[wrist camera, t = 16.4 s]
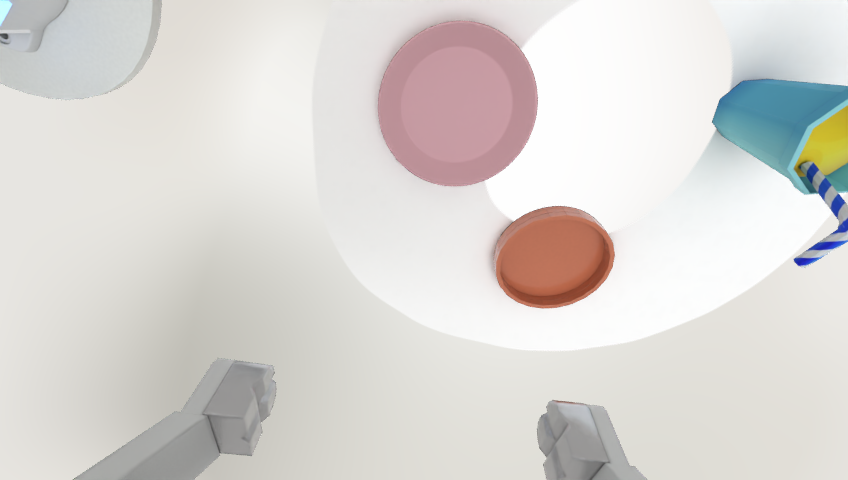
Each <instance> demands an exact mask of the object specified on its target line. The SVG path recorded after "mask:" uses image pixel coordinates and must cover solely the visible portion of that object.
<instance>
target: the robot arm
mask: <svg viewBox="0 0 848 480" xmlns="http://www.w3.org/2000/svg"><path fill="white" fill-rule="evenodd" d="M67 2H68V0H0V45H1V46H4V47H7V48H10V49H13V50H16V51H19V52H35V51H37V50H38V49H39V47H40V44H41V41H42V37H43V32H44V29H45V27H46V26H47V25H48V24H49V23H50V22H51V21H53V20H54V19H55V18H56V17H58V16H59V15H60V13H61V12H62V11H63V9H64V8H65V6H66V4H67ZM7 34H8V35H7ZM274 373H275V372H274V367H273V366H272V365H265V364H258V363H250V362H243V361H237V360H229V359H222V358H218V359H217V360H216V361H215V362H213V364H212V365H211V366H210V368H209V369H208V371H207V372H206V374H205V375H204V377H203V378H202V380H201V382H200V383H199V385H198V386H197V388H196V389H195V391H194V392H193V394H192V395H191V397H190V398H189V400H188V402H187V403H186V404H185V406H184V408H183V409H182V411H181V412H174V413H172V414H171V415H169V416H168V417H166V418H165V419H163V420H161V421H160V422H159V423H157V424H155V425H154V426H153V427H151V428H149V429H148V430H146V431H145V432H143V433H142V434H140V435H139V436H138V437H136V438H135V439H133V440H131V441H130V442H128V443H127V444H126V445H124V446H122V447H121V448H120V449H118V450H116V451H115V452H113V453H112V454H110V455H109V456H107V457H106V458H104V459H103V460H101V461H100V462H98V463H97V464H95V465H94V466H92V467H91V468H89V469H88V470H86V471H85V472H83V473H82V474H80V475H79V476H77V477H76V478H74V479H73V480H194V479H195V478H196V477H197V476H198V475H199V474H200V473H202V472H203V471H204V470H205V469H206V468H207V467H208V466H209V465H210V464H211V463H212V462H213V461H214V460H215V459H216V458H218V457H219V456H220V453H225V454H236V455H247V456H252V454H253V452H254V450H255V448H256V445H257V443H258V441H259V438H260V436H261V434H262V427H261V422H262V421H263V420H265V419H266V418H267V417H268V416H269V415H270V412H271V410H272V407H273V404H274V401H275V397H276V382H275V381H274V380H273V379H272V377H273V375H274ZM546 408H547V411H548V412H547V413H546V414H543V415H542V416H541V417H540V419H539V421H538V428H537V436H538V443H539V448H540V450H541V451H542V452H543V453H544V454H545V456H546V460H545V462H544V464H543V466H544V470H545V475H546V479H547V480H647V479H646V478H645V477H644V476H643V475H642V474H641V473H640V472H639V470H637V468H636V467H634V466H629V463H628V461H627V459H626V456H625V454H624V451H623V449H622V447H621V444H620V442H619V439H618V437H617V435H616V432H615V430H614V428H613V425H612V423H611V421H610V418H609V416H608V413H607V411H606V410H605V408H604V407H602V406H597V405H586V404H583V403H573V402H565V401H555V400H552V401H550V402H549V403H548V405H547V407H546Z"/></svg>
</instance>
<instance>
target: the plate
mask: <svg viewBox="0 0 848 480" xmlns="http://www.w3.org/2000/svg"><path fill="white" fill-rule="evenodd" d="M537 104H538V97H537V87H536V81H535V78H534V74H533V71H532V69H531V67H530V64H529V62H528V60H527V59H526V57H525V55H524V54H523V52H522V51H521V50H520V49H519V47H518V46H517V45H516V44H515V43H514V42H513V41H512V40H511V39H510V38H508V37H507V36H506V35H504V34H503V33H501V32H500V31H498V30H496V29H494V28H492V27H490V26H487V25H484V24H481V23H477V22H471V21H451V22H445V23H441V24H438V25H435V26H432V27H430V28H427V29H425V30H423V31H421V32H420V33H418V34H417V35H415V36H414V37H412V38H411V39H410V40H409V41H408V42H406V43H405V44H404V45H403V46H402V47H401V48H400V50H399V51H398V52H397V53H396V55H395V56H394V57H393V59H392V60H391V62H390V64H389V66H388V68H387V70H386V72H385V74H384V77H383V79H382V83H381V86H380V91H379V98H378V116H379V122H380V127H381V131H382V134H383V137H384V139H385V141H386V144H387V146H388V147H389V149H390V151H391V152H392V154H393V155H394V156H395V158H396V159H397V160H398V161H399V162H400V163H401V164H402V165H403V166H404V167H405V168H406V169H407V170H408V171H410V172H411V173H413V174H414V175H416V176H417V177H419V178H421V179H423V180H426V181H428V182H431V183H434V184H438V185H444V186H465V185H471V184H475V183H478V182H481V181H484V180H486V179H489V178H491V177H492V176H494V175H496V174H497V173H499V172H500V171H502V170H503V169H505V168H506V167H507V166H508V165H509V164H510V163H511V162H512V161H513V160H514V159H515V158H516V157H517V156H518V155H519V153H520V152H521V151H522V149H523V148H524V146H525V144H526V143H527V141H528V139H529V136H530V135H531V132H532V130H533V127H534V123H535V119H536V114H537Z"/></svg>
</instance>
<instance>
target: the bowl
mask: <svg viewBox="0 0 848 480" xmlns="http://www.w3.org/2000/svg"><path fill="white" fill-rule="evenodd" d="M614 256H615V254H614V247H613V242H612V240H611V239H610V237H609V235H608V233H607V232H606V230H605V229H604V228H603V226H602V225H601V224H600V223H599V222H598V221H597V220H596V219H595V218H594V217H592V216H591V215H590V214H588V213H586V212H584V211H582V210H579V209H576V208H571V207H565V206H552V207H546V208H541V209H538V210H534V211H532V212H529V213H527V214H525V215H523V216H522V217H520V218H519V219H517V220H515V221H514V222H513V223H512V224H511V225H510V226H509V227H508V228H507V229H506V230H505V231H504V232H503V234H502V235H501V236H500V238H499V240H498V242H497V245H496V247H495V252H494V268H495V273H496V277H497V280H498V282H499V285H500V287H501V288H502V289H503V291H504V292H505V293H506V294H507V295H508V296H509V297H511V298H512V299H514V300H515V301H516V302H518V303H521V304H524V305H527V306H530V307H536V308H557V307H562V306H566V305H570V304H573V303H575V302H577V301H579V300H582V299H584V298H586V297H587V296H588V295H590V294H591V293H593V292H594V291H595V290H596V289H598V288H599V287H600V285H601V284H602V283H603V282H604V281H605V280H606V279H607V277H608V275H609V273H610V271H611V269H612V267H613V262H614Z"/></svg>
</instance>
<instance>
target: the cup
mask: <svg viewBox="0 0 848 480" xmlns="http://www.w3.org/2000/svg"><path fill="white" fill-rule="evenodd" d="M712 123H713V124H714V125H715V127H716V128H717V129H718V131H719V132H720V133H721V135H722V136H723V137H725V138H726V139H728V140H729V141H731V142H732V143H734V144H736V145H737V146H739V147H740V148H742V149H743V150H745V151H746V152H748V153H750V154H751V155H753V156H754V157H756V158H757V159H759V160H761V161H762V162H764V163H765V164H767V165H768V166H770V167H771V168H773V169H775V170H776V171H778V172H779V173H781V174H782V175H784V176H785V177H787V178H789V179H790V181H791V182H792V184H793V185H794V187H795V188H797V189H798V190H799V191H801V192H802V193H803V194H819V195H820V196H821V197H822V199H823V200H824V201H825V203H826V204H827V205H828V207H829V208H830V209H831V211H832V212H833V213H834V215H835V216H836V217H837V219H838V220H839V226H838V230H836V231H835V232H833V233H832V234H830V235H829V236H827V237H826V238H824V239H823V240H822V241H820V242H818V243H817V244H815V245H814V246H813V247H811V248H809V249H808V250H806V251H805V252H804V253H802V254H801V255H799V256H798V257H796V258H795V259H794V261H795V263H796V264H797V265H798V266H800V267H802V268H805V267H807V266H809V265H810V264H812V263H814V262H815V261H817V260H818V259H820V258H822V257H823V256H825V255H827V254H828V253H830V252H831V251H833V250H835V249H836V248H838V247H839V246H841V245H843V244H844V243H846V242H848V205H847V204H846V202H845V201H844V200H843V199H842V197H841V196H840V195H839V194H838V193H844V192H848V86H841V85H830V84H818V83H807V82H795V81H784V80H772V79H762V80H748V81H742V82H741V83H740V84H738V85H737V86H736V87H735V88H733V89H732V90H731V91H730V92H728V93H727V94H726V95H725V96H723V97H722V98H721V99H720V100H719V103H718V106H717V109H716V112H715V115H714V118H713V121H712Z"/></svg>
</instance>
